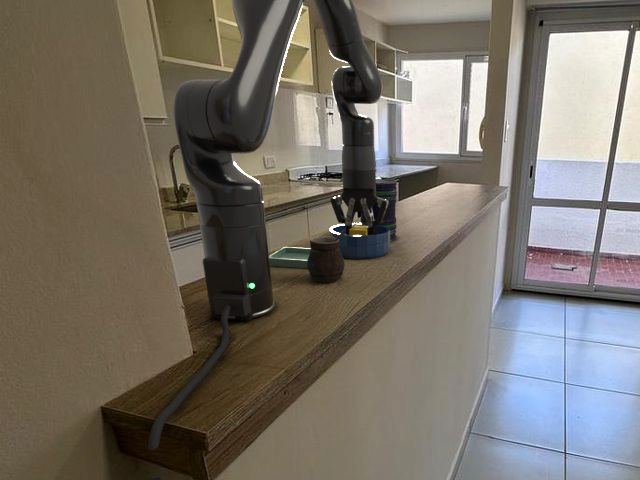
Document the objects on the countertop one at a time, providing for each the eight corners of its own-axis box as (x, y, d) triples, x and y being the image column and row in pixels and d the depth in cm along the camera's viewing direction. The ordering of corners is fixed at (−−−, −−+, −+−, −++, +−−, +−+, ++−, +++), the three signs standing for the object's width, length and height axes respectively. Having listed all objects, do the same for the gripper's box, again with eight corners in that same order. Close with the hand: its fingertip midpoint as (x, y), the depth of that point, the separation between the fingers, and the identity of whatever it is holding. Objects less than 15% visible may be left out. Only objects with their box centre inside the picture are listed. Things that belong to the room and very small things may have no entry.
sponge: (366, 245, 105) (365, 230, 104) (349, 244, 106) (349, 229, 104) (371, 240, 110) (370, 226, 108) (355, 239, 110) (354, 225, 109)
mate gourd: (305, 275, 90) (301, 225, 86) (342, 272, 93) (340, 224, 89) (310, 286, 84) (307, 234, 80) (350, 283, 86) (348, 232, 82)
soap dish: (315, 269, 94) (315, 261, 94) (266, 265, 95) (265, 257, 95) (330, 256, 103) (330, 249, 103) (285, 253, 104) (284, 246, 104)
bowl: (383, 261, 101) (383, 237, 99) (322, 257, 102) (321, 233, 100) (394, 246, 114) (394, 225, 112) (340, 243, 115) (339, 221, 113)
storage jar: (368, 232, 128) (367, 166, 121) (401, 235, 126) (402, 168, 119) (354, 239, 120) (352, 169, 113) (389, 243, 117) (389, 171, 110)
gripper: (323, 166, 98) (327, 243, 105) (386, 169, 97) (386, 247, 103) (333, 164, 105) (336, 236, 112) (392, 166, 103) (392, 239, 110)
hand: (360, 241), depth 107 cm, fingers closed on sponge, 4 cm apart
